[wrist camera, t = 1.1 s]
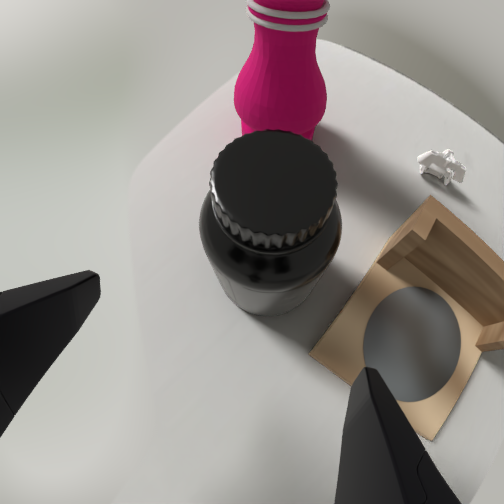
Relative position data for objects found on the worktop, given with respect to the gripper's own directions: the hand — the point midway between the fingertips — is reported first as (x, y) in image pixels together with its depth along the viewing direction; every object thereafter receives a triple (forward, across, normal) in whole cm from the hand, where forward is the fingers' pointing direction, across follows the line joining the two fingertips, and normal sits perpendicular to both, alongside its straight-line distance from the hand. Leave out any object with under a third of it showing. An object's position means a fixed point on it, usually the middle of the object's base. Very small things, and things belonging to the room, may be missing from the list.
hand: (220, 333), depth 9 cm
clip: (+22, -12, -5) cm, 26 cm away
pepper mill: (+22, +3, -4) cm, 22 cm away
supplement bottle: (+13, 0, +5) cm, 14 cm away
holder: (+11, -12, +6) cm, 17 cm away
